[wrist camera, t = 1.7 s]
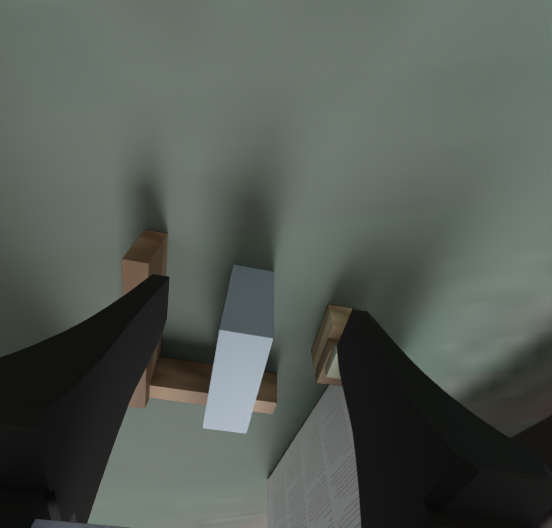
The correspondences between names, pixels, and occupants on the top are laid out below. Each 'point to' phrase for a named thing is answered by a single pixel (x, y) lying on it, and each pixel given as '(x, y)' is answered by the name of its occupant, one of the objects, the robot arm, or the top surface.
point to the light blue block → (241, 349)
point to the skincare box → (318, 472)
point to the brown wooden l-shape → (161, 370)
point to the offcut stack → (329, 345)
